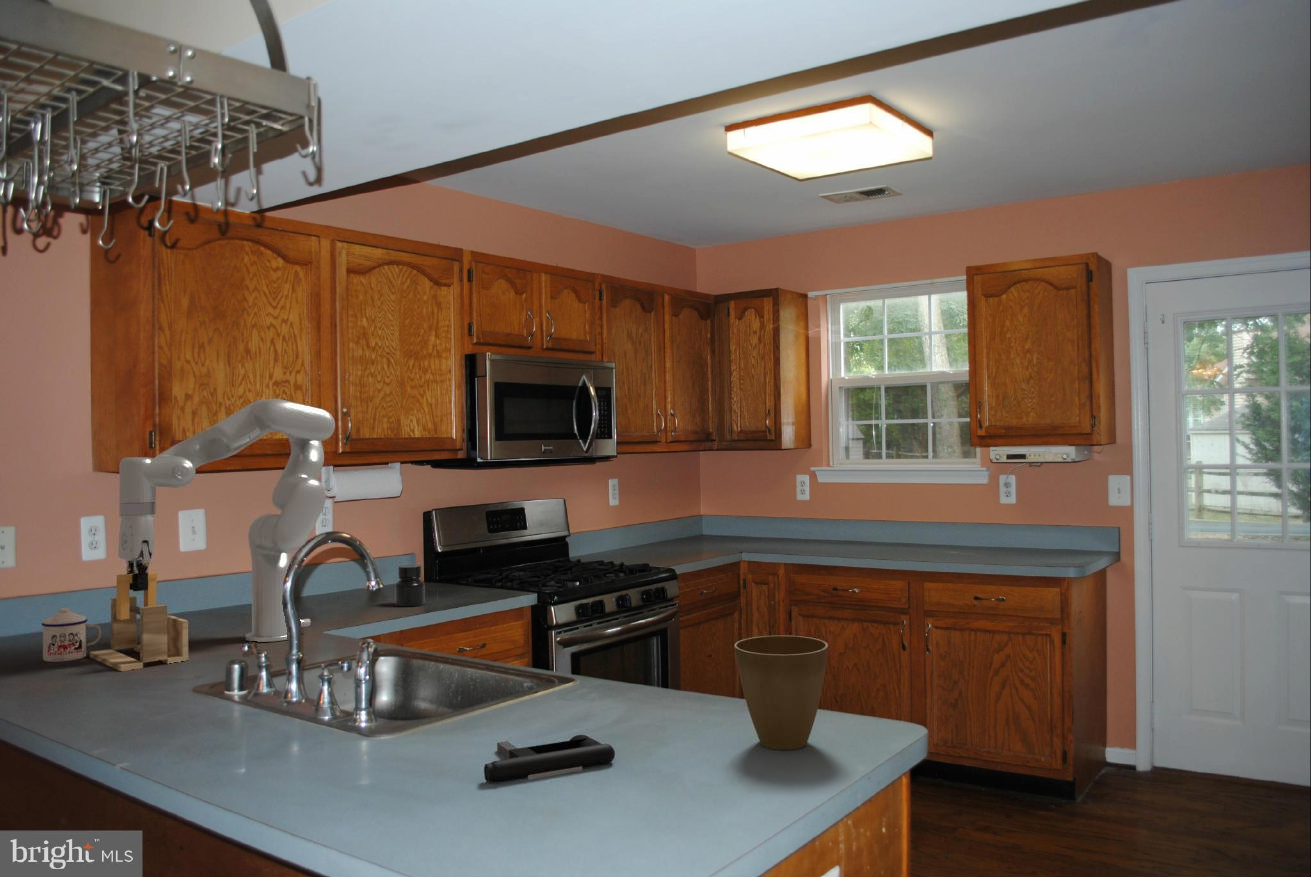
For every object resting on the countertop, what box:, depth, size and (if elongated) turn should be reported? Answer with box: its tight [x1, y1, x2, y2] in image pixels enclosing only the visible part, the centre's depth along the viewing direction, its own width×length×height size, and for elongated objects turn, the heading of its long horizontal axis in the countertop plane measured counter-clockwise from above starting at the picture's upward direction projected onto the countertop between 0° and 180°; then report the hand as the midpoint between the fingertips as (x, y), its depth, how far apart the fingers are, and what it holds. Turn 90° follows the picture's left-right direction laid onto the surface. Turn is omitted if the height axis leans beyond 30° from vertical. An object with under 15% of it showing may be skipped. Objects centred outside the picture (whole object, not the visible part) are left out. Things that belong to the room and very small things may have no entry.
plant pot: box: [734, 635, 829, 751], centre depth 154 cm, size 15×15×16 cm
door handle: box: [483, 734, 616, 784], centre depth 146 cm, size 3×20×16 cm
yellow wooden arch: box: [116, 571, 158, 620], centre depth 221 cm, size 8×3×10 cm, turn 136°
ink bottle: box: [394, 564, 426, 608], centre depth 296 cm, size 10×9×12 cm
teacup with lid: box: [41, 607, 103, 663], centre depth 224 cm, size 12×9×12 cm
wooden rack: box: [89, 595, 189, 672], centre depth 221 cm, size 22×14×13 cm, turn 46°
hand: (137, 589), depth 221 cm, fingers closed on yellow wooden arch, 3 cm apart
